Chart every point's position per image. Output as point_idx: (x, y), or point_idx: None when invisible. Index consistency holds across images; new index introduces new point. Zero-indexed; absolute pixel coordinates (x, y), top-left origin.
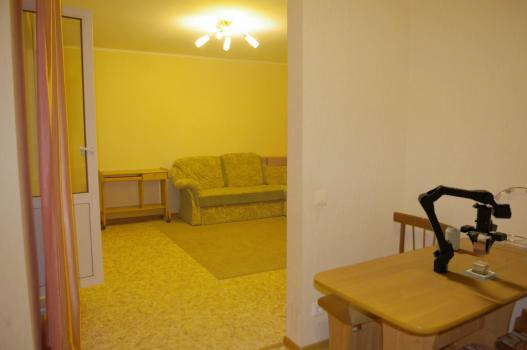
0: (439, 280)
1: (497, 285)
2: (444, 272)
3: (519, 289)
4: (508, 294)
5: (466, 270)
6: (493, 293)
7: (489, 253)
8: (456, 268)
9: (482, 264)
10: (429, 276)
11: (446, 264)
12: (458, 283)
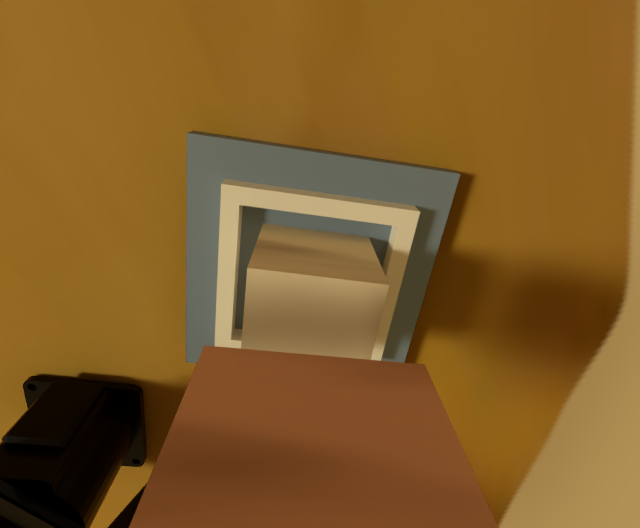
0: None
1: (468, 348)
2: (127, 451)
3: (608, 310)
4: (549, 422)
5: (191, 289)
6: (474, 461)
7: (422, 383)
8: (83, 250)
9: (337, 353)
10: None
11: (97, 503)
12: None
